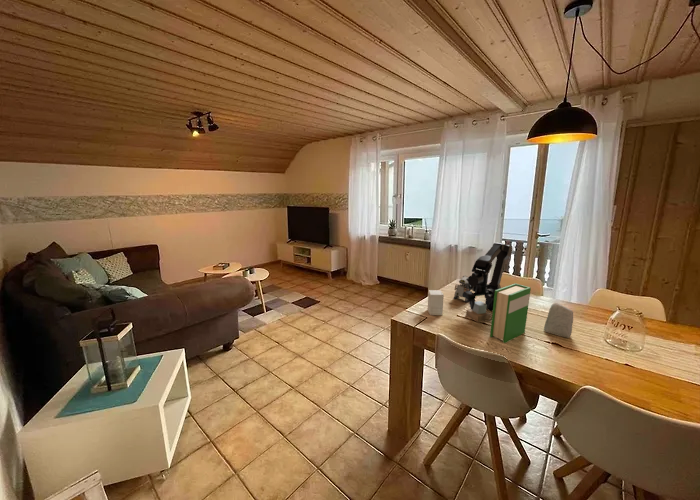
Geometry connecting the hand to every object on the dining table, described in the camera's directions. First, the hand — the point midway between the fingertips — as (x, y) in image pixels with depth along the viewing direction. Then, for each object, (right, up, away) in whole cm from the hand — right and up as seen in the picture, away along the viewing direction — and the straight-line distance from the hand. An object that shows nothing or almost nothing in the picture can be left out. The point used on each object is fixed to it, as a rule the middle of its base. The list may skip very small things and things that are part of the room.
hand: (479, 308), depth 157 cm
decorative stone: (+31, -9, -17) cm, 36 cm away
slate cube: (0, -2, 0) cm, 2 cm away
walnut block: (0, -6, +1) cm, 6 cm away
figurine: (+2, 0, +27) cm, 27 cm away
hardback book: (+6, -10, -17) cm, 20 cm away
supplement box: (-22, -4, +8) cm, 24 cm away
